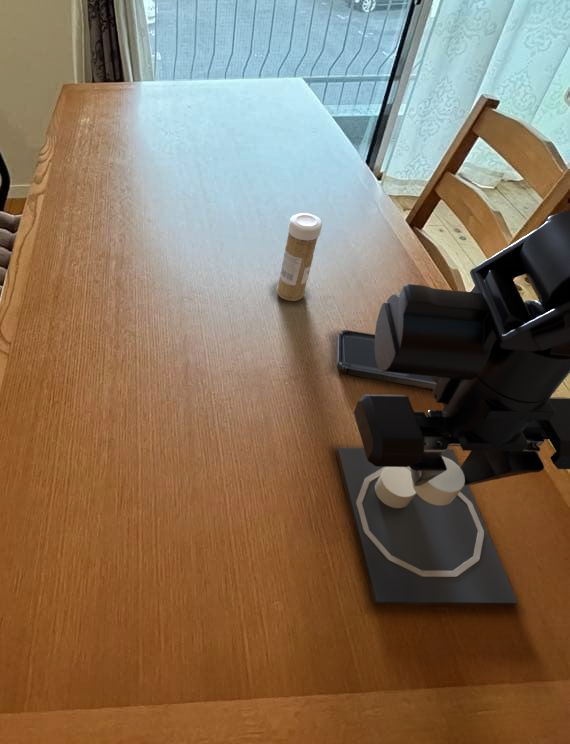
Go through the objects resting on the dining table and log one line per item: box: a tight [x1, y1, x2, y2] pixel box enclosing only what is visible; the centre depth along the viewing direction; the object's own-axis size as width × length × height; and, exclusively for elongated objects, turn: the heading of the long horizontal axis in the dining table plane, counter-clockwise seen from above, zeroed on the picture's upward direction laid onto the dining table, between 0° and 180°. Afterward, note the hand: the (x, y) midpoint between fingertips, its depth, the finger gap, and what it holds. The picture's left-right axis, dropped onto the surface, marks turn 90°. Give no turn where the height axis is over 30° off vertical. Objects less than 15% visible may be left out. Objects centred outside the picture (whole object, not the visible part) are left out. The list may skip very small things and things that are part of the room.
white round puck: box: [375, 467, 416, 508], centre depth 62 cm, size 4×4×2 cm
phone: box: [336, 329, 436, 390], centre depth 78 cm, size 8×1×15 cm
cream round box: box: [412, 456, 465, 505], centre depth 53 cm, size 4×4×2 cm
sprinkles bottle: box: [275, 212, 323, 302], centre depth 84 cm, size 5×5×14 cm
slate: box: [335, 447, 519, 608], centre depth 61 cm, size 14×18×1 cm
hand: (437, 481), depth 53 cm, fingers closed on cream round box, 4 cm apart
